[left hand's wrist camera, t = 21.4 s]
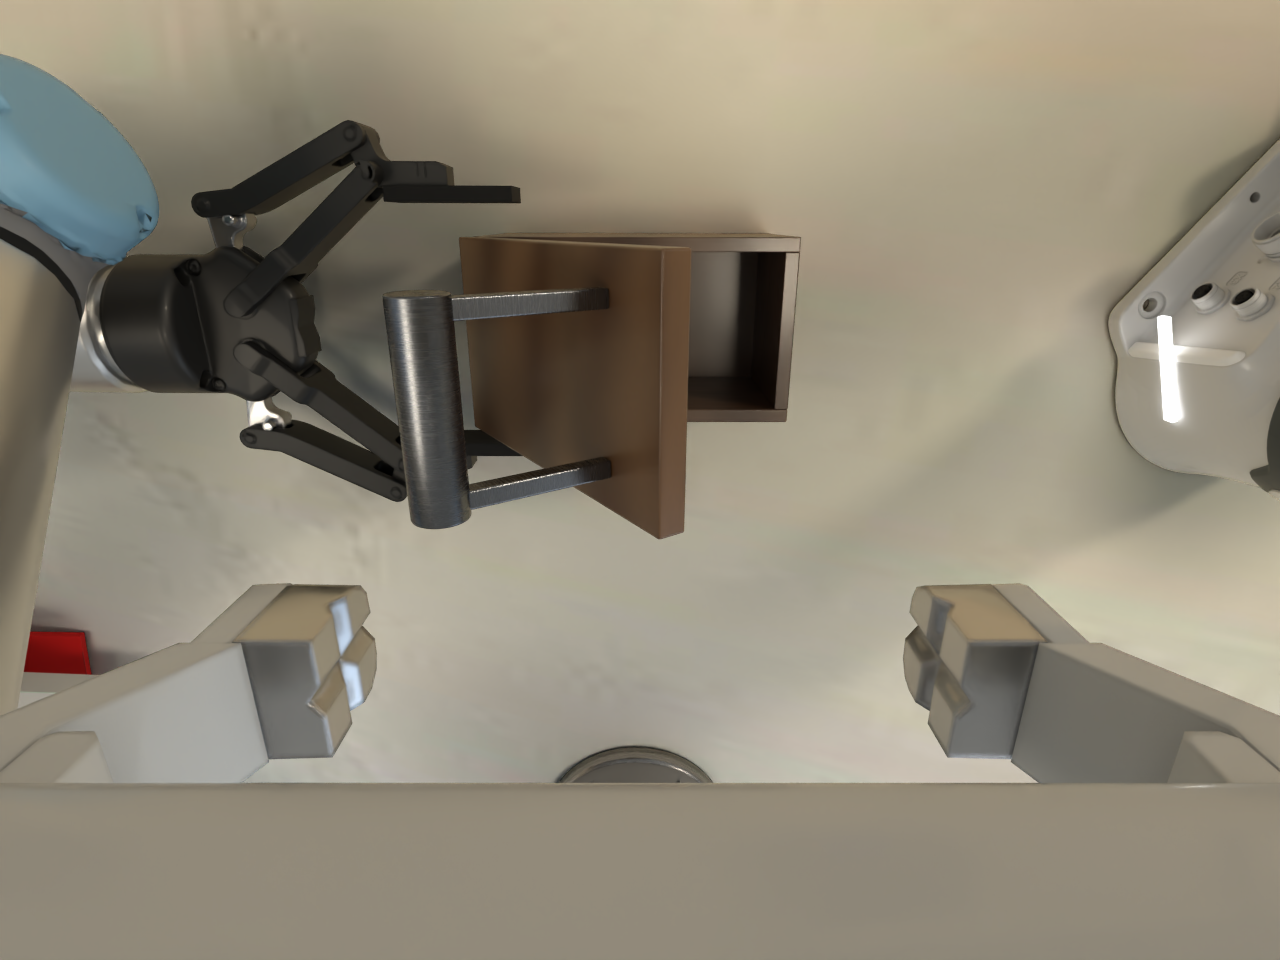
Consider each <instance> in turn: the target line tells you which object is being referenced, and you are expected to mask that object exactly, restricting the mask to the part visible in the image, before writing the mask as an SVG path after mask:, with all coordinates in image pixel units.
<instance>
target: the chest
mask: <svg viewBox="0 0 1280 960" xmlns="http://www.w3.org/2000/svg"><path fill="white" fill-rule="evenodd" d="M475 237H492V238H512V239H532V240H552V241H572V242H592V243H612V244H632V245H652V246H672V247H689V248H691V286H690V324H689V362H688V400H687V422H786V419H787V408H788V396H789V383H790V371H791V358H792V345H793V333H794V320H795V307H796V295H797V282H798V269H799V257H800V253H799V252H800V244H801V237H794V236H784V235H775V234H637V233H504V234H496V235H485V236H475Z"/></svg>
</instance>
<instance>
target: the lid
mask: <svg viewBox="0 0 1280 960" xmlns="http://www.w3.org/2000/svg"><path fill="white" fill-rule="evenodd" d="M459 245H460V256H461V268H462V279H463V291H464V295H451V293H450V292H447V291H440V290H408V291H395V292H388V293H385V294H383V296H382V297H383V305H384V313H385V321H386V329H387V337H388V345H389V353H390V361H391V368H392V376H393V384H394V392H395V400H396V408H397V416H398V424H399V432H400V439H401V447H402V455H403V463H404V471H405V479H406V487H407V495H408V503H409V511H410V518H411V522H412V523H413V524H414V525H415V526H417V527H420V528H426V529H442V528H449V527H453V526H456V525H459V524H462V523H464V522H465V521H467V520H468V519H469V518H470V516H471V510H473V509H477V508H481V507H486V506H490V505H494V504H499V503H503V502H508V501H512V500H516V499H521V498H525V497H529V496H534V495H538V494H542V493H547V492H551V491H555V490H560V489H564V488H568V487H575V488H576V489H578V490H579V491H581V492H583V493H584V494H586V495H588V496H589V497H591V498H592V499H594V500H596V501H597V502H599V503H601V504H602V505H604V506H605V507H607V508H609V509H610V510H612V511H614V512H615V513H617V514H618V515H620V516H622V517H623V518H625V519H627V520H628V521H630V522H631V523H633V524H635V525H636V526H638V527H640V528H641V529H643V530H644V531H646V532H648V533H649V534H651V535H652V536H654V537H656V538H657V539H663V538H666V537H669V536H673V535H676V534H680V533H683V532H684V514H685V476H686V438H687V400H688V362H689V324H690V286H691V248H689V247H672V246H652V245H632V244H612V243H592V242H572V241H552V240H532V239H512V238H492V237H460V238H459ZM461 320H466V326H467V338H468V349H469V361H470V372H471V384H472V396H473V407H474V419H475V426H476V427H477V428H479V429H480V430H482V431H484V432H485V433H487V434H488V435H490V436H492V437H493V438H495V439H497V440H498V441H500V442H501V443H503V444H505V445H506V446H508V447H510V448H511V449H513V450H514V451H516V452H518V453H519V454H521V455H523V456H524V457H526V458H527V459H529V460H531V461H532V462H534V463H536V464H537V465H539V466H540V467H542V468H544V469H540V470H536V471H531V472H526V473H521V474H517V475H512V476H507V477H502V478H497V479H493V480H488V481H483V482H478V483H473V484H469V481H468V470H467V459H466V448H465V437H464V426H463V416H462V405H461V394H460V383H459V372H458V361H457V350H456V340H455V329H454V321H461Z"/></svg>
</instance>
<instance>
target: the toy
mask: <svg viewBox="0 0 1280 960" xmlns="http://www.w3.org/2000/svg"><path fill="white" fill-rule="evenodd" d="M97 676H99V675H91V669H90V663H89V657H88V652H87V646H86V640H85V635H84V632H30V635H29V641H28V648H27V654H26V660H25V666H24V672H23V678H22V684H21V690H20V696H19V703H18V708H21V707H23V706H25V705H28V704H30V703H33V702H35V701H38V700H40V699H43V698H45V697H48V696H50V695H52V694H55V693H57V692H60V691H62V690H65V689H67V688H70V687H72V686H75V685H77V684H79V683H82V682H84V681H87V680H89V679H92V678H94V677H97Z"/></svg>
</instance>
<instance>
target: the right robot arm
mask: <svg viewBox="0 0 1280 960" xmlns="http://www.w3.org/2000/svg"><path fill="white" fill-rule="evenodd" d="M353 163H355V165H356V167H355V169H354V170H353V171H352V172H351V173H350V174H349V175H348V176H347V177H346V178H345V179H344V180H343V181H342V182H341V183H340V184H339V185H338V186H337V187H336V188H335V189H334V191H333V192H332V193H331V194H330V195H329V196H328V197H327V198H326V199H325V200H324V201H323V202H322V203H321V204H320V205H319V206H318V207H317V208H316V209H315V210H314V212H313V213H312V214H311V215H310V216H309V217H308V218H307V219H306V220H305V221H304V222H303V223H302V224H301V225H300V226H299V227H298V228H297V229H296V230H295V231H294V233H293V234H292V235H291V236H290V237H289V238H288V239H287V240H286V241H285V242H284V243H283V244H282V245H281V246H280V247H278V248H277V249H275V250H273V251H272V252H270V253H269V254H268V255H267V256H266V257H265V258H263V257H262V256H260V255H259V254H257V253H256V252H254V251H253V250H251V249H250V248H248V247H245V246H243V236H244V235H245V234H246V233H247V232H249V231H251V230H252V229H253V228H254V227H255V225H256V223H257V218H256V217H255V215H259V214H263V213H266V212H269V211H271V210H273V209H275V208H277V207H279V206H281V205H282V204H284V203H286V202H288V201H289V200H291V199H293V198H294V197H296V196H298V195H300V194H301V193H303V192H305V191H306V190H308V189H310V188H312V187H313V186H315V185H317V184H318V183H320V182H322V181H324V180H325V179H327V178H329V177H330V176H332V175H334V174H335V173H337V172H339V171H341V170H342V169H344V168H346V167H347V166H349V165H351V164H353ZM382 197H384V201H385V202H398V203H521V199H520V188H517V187H513V186H454V175H453V168H452V167H450V166H448V165H445V164H443V163H439V162H436V161H390V160H389V159H388V158H387V157H386V156H385V154H384V153H383V150H382V148H381V146H380V138H379V135H378V133H377V132H376V131H375V130H374V129H373V128H371V127H369V126H366V125H363V124H360V123H357V122H354V121H350V120H347V121H344V122H342V123H340V124H339V125H337V126H335V127H334V128H332V129H330V130H328V131H327V132H325V133H323V134H322V135H320V136H318V137H317V138H315V139H313V140H312V141H310V142H308V143H307V144H305V145H303V146H302V147H300V148H298V149H297V150H295V151H293V152H292V153H290V154H288V155H287V156H285V157H283V158H282V159H280V160H278V161H277V162H275V163H273V164H272V165H270V166H268V167H267V168H265V169H263V170H262V171H260V172H258V173H257V174H255V175H253V176H252V177H250V178H248V179H247V180H245V181H243V182H242V183H240V184H238V185H237V186H235V187H233V188H232V189H224V190H216V191H208V192H200V193H197V194H195V195H194V196H193V197H192V201H191V203H192V208H193V210H194V211H195V212H196V213H197V214H198V215H199V216H201V217H205V218H207V219H208V223H209V226H210V229H211V232H212V236H213V239H214V242H215V245H216V249H214V250H213V251H211V252H210V253H207V254H205V255H143V254H137V255H131V256H128V257H127V256H126V253H127V252H128V251H129V250H130V249H132V248H133V247H134V246H136V245H137V244H138V243H140V242H141V241H142V240H144V239H145V238H146V237H147V236H149V235H150V234H151V232H152V231H153V230H154V228H155V227H156V225H157V222H158V218H159V203H158V197H157V194H156V191H155V188H154V185H153V183H152V180H151V178H150V176H149V174H148V172H147V170H146V168H145V166H144V165H143V163H142V161H141V160H140V158H139V157H138V155H137V154H136V152H135V151H134V150H133V148H132V147H131V146H130V144H129V143H128V142H127V141H126V139H125V138H124V137H123V136H122V135H121V134H120V132H119V131H118V130H117V129H116V128H115V127H114V126H113V125H112V124H111V123H110V122H109V121H108V120H107V119H106V118H105V117H104V116H103V115H102V114H101V113H100V112H98V111H97V110H96V109H95V108H93V107H92V106H91V105H90V104H89V103H88V102H86V101H85V100H84V99H83V98H82V97H81V96H79V95H78V94H77V93H76V92H75V91H74V90H73V89H71V88H70V87H68V86H67V85H66V84H64V83H63V82H61V81H60V80H58V79H57V78H55V77H54V76H52V75H50V74H49V73H47V72H45V71H43V70H41V69H39V68H37V67H35V66H33V65H31V64H29V63H27V62H24V61H22V60H19V59H17V58H13V57H10V56H6V55H3V54H0V716H1V715H3V714H6V713H8V712H11V711H13V710H16V709H18V703H19V696H20V690H21V684H22V678H23V672H24V666H25V660H26V654H27V648H28V641H29V635H30V629H31V623H32V617H33V611H34V605H35V599H36V593H37V587H38V580H39V574H40V568H41V562H42V556H43V550H44V544H45V538H46V532H47V526H48V519H49V513H50V507H51V501H52V495H53V489H54V483H55V477H56V471H57V464H58V458H59V452H60V446H61V440H62V434H63V428H64V422H65V416H66V410H67V403H68V397H69V392H114V393H141V392H146V391H151V392H157V393H230V394H234V395H237V396H239V397H241V398H243V399H245V400H247V412H248V424H249V427H248V428H246V429H244V430H242V432H241V433H240V440H241V442H242V443H243V445H245V446H246V447H249V448H254V449H263V450H272V451H281V452H283V453H285V454H287V455H290V456H292V457H294V458H297V459H299V460H301V461H303V462H306V463H308V464H310V465H313V466H315V467H317V468H319V469H322V470H324V471H326V472H328V473H331V474H333V475H335V476H338V477H340V478H342V479H344V480H347V481H349V482H351V483H354V484H356V485H358V486H360V487H363V488H365V489H367V490H369V491H372V492H374V493H376V494H379V495H381V496H383V497H385V498H388V499H390V500H392V501H396V502H400V501H403V500H404V499H405V498H406V497H407V496H408V495H407V487H406V479H405V471H404V463H403V455H402V447H401V439H400V432H399V426H398V425H396V424H395V423H394V422H392V421H391V420H389V419H388V418H387V417H385V416H384V415H383V414H381V413H380V412H379V411H377V410H376V409H375V408H373V407H372V406H371V405H369V404H368V403H367V402H365V401H364V400H363V399H361V398H360V397H359V396H357V395H356V394H355V393H353V392H352V391H351V390H349V389H348V388H347V387H345V386H344V385H342V384H341V383H340V382H338V381H337V380H336V378H335V375H334V374H333V373H332V372H331V371H330V370H328V369H327V368H326V367H324V366H323V365H322V364H320V363H319V362H318V361H316V358H317V355H318V352H319V351H321V350H322V349H321V343H320V337H319V335H318V332H317V330H316V327H315V325H314V315H315V305H314V299H313V295H309V294H308V292H307V290H306V289H305V288H304V286H303V285H302V284H301V283H302V282H303V281H304V280H305V279H306V278H307V277H308V276H309V275H310V274H311V273H312V272H313V271H314V270H315V268H316V267H317V266H318V262H319V261H320V260H321V259H322V258H323V257H324V256H325V255H326V254H327V253H328V252H329V251H330V250H331V249H332V248H333V247H334V246H335V245H336V244H337V243H338V242H339V241H340V240H341V238H342V237H343V236H344V235H345V234H346V233H347V232H348V231H349V230H350V229H351V228H352V227H353V226H354V225H355V224H356V223H357V222H358V221H359V220H360V219H361V218H362V217H363V216H364V215H365V214H366V213H367V212H368V211H369V210H370V209H371V208H372V207H373V206H374V205H375V204H376V203H377V202H378V201H379V200H380V199H381V198H382ZM280 391H282V392H283V393H284V394H286V395H287V396H288V397H290V398H291V399H293V400H294V401H296V402H298V403H300V404H305V405H308V406H309V407H311V408H312V409H314V410H315V411H316V412H318V413H319V414H320V415H322V416H323V417H325V418H326V419H327V420H329V421H330V422H331V423H333V424H334V425H336V426H337V427H338V428H340V429H341V430H342V431H344V432H345V433H347V434H348V435H349V436H351V437H352V438H353V439H355V440H356V441H358V442H359V443H360V444H362V445H363V446H364V447H366V448H367V449H369V450H370V451H369V450H366V449H364V448H362V447H360V446H358V445H355V444H353V443H351V442H349V441H346V440H344V439H342V438H340V437H337V436H335V435H333V434H331V433H329V432H326V431H324V430H322V429H320V428H317V427H315V426H313V425H310V424H308V423H305V422H301V421H297V420H291V419H292V415H291V414H290V413H289V412H288V411H284V410H281V409H279V408H277V407H276V406H275V405H274V404H273V402H272V396H275V395H276V394H278V393H279V392H280ZM464 437H465V448H466V459H467V470H468V469H470V468H472V467H473V466H474V464H475V463H476V461H477V456H523V455H521V454H519V453H518V452H516V451H514V450H513V449H511V448H510V447H508V446H506V445H505V444H503V443H501V442H500V441H498V440H497V439H495V438H493V437H492V436H490V435H488V434H487V433H485V432H484V431H482V430H464ZM559 783H713V782H712V781H711V779H710V778H709V777H708V776H707V775H706V774H705V773H704V772H703V771H702V770H701V769H699V768H698V767H697V766H695V765H694V764H692V763H691V762H689V761H687V760H686V759H684V758H682V757H679V756H677V755H674V754H672V753H669V752H665V751H661V750H656V749H650V748H621V749H615V750H610V751H606V752H603V753H600V754H597V755H594V756H592V757H590V758H588V759H586V760H584V761H582V762H581V763H579V764H577V765H576V766H575V767H573V768H572V769H571V770H570V771H569V772H568V773H566V775H565V776H564V777H563V778H562V779H561V780H560V782H559Z"/></svg>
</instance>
